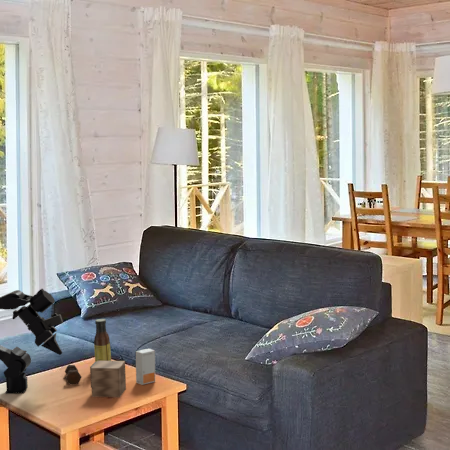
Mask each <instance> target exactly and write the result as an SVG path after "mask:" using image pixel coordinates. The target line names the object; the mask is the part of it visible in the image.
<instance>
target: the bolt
mask: <svg viewBox="0 0 450 450" xmlns="http://www.w3.org/2000/svg"><path fill="white" fill-rule="evenodd" d="M64 373H65V375H66V376H65V380H66V382H67V383H68V385H70V386H73V385H79V384H80V381H81V380H82V376H81V374H80V372H79V370H78V367H77V366H76V365H75V364H68V365H67V366H66V367H65V370H64Z"/></svg>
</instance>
